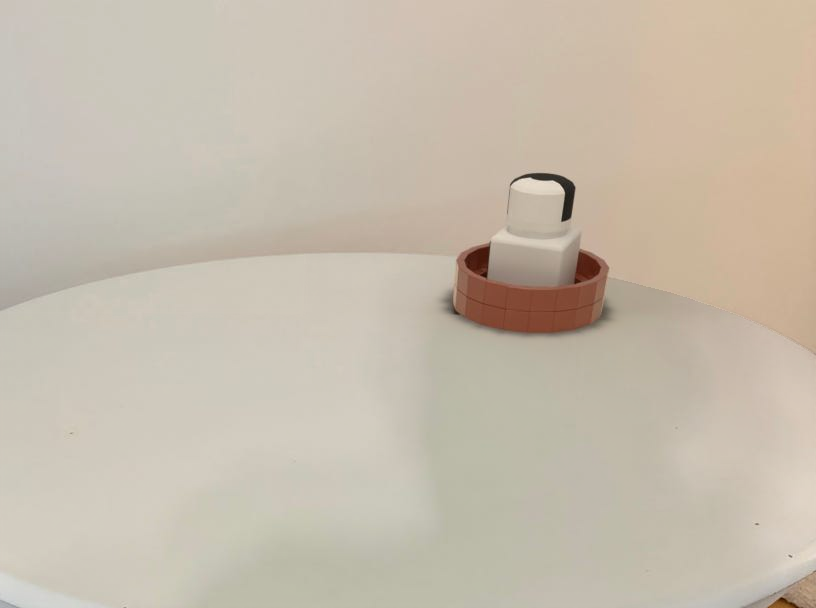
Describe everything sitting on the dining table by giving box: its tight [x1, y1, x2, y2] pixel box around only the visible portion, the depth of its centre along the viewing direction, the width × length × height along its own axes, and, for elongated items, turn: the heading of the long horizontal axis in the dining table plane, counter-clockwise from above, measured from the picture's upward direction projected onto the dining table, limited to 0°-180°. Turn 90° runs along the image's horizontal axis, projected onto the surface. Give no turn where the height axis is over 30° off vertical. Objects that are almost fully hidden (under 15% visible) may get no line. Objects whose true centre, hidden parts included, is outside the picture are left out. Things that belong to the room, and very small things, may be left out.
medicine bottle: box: [486, 172, 583, 287], centre depth 95 cm, size 7×7×12 cm
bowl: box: [452, 242, 610, 334], centre depth 98 cm, size 15×15×5 cm
